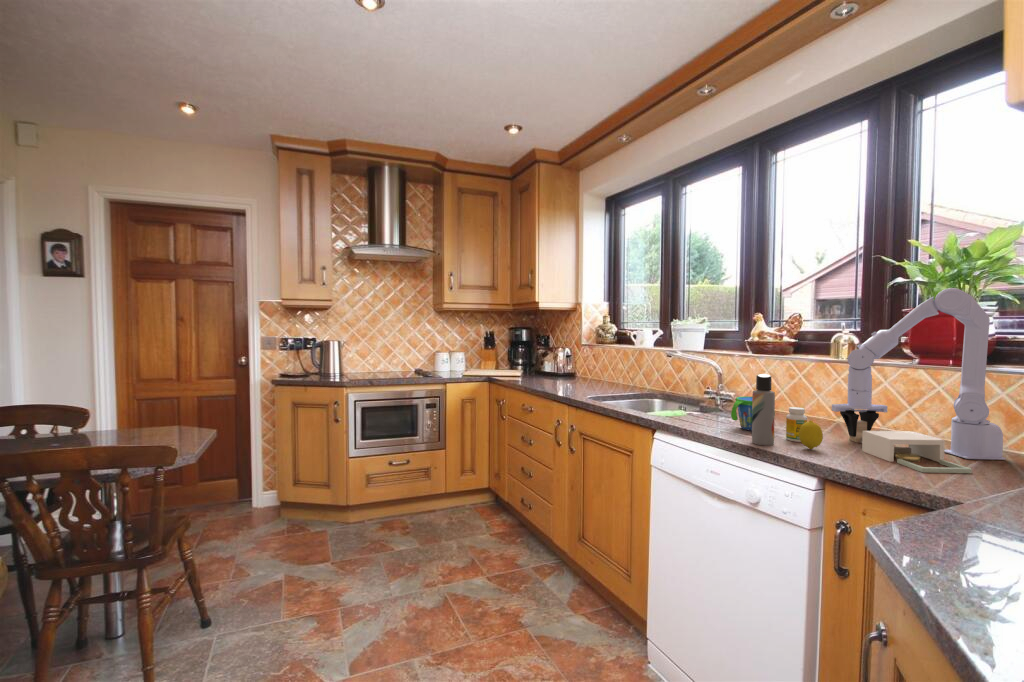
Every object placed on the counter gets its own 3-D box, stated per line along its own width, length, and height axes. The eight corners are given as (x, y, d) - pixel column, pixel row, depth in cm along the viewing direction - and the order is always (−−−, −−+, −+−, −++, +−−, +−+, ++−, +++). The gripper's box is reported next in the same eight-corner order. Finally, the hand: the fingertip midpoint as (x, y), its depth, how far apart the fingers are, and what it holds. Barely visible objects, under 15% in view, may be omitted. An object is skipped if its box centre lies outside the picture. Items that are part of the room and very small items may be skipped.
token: (909, 456, 123) (910, 452, 123) (925, 462, 118) (925, 457, 118) (890, 456, 123) (890, 452, 123) (905, 461, 118) (905, 457, 118)
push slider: (845, 439, 141) (845, 419, 141) (864, 440, 141) (864, 420, 141) (888, 455, 123) (889, 432, 123) (911, 455, 123) (911, 432, 123)
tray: (942, 463, 116) (942, 459, 116) (971, 473, 109) (971, 469, 109) (897, 462, 117) (897, 458, 117) (922, 472, 109) (922, 468, 109)
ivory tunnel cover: (912, 452, 127) (912, 431, 127) (944, 462, 117) (944, 440, 117) (862, 451, 128) (862, 430, 128) (889, 461, 118) (889, 439, 118)
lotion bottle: (773, 442, 138) (774, 374, 137) (774, 446, 133) (776, 375, 132) (751, 440, 140) (752, 373, 140) (752, 444, 135) (753, 374, 134)
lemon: (826, 452, 127) (826, 422, 126) (803, 451, 128) (804, 422, 127) (817, 447, 132) (817, 419, 132) (795, 446, 133) (796, 418, 133)
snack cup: (741, 433, 150) (742, 401, 149) (721, 426, 160) (722, 396, 160) (785, 431, 152) (786, 400, 152) (763, 425, 162) (763, 395, 162)
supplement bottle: (796, 437, 144) (797, 406, 144) (811, 441, 139) (812, 409, 138) (781, 438, 143) (782, 407, 142) (796, 442, 137) (796, 410, 137)
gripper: (875, 388, 142) (874, 433, 143) (825, 388, 143) (825, 432, 144) (893, 391, 135) (892, 438, 136) (840, 391, 136) (839, 438, 136)
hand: (858, 436), depth 139 cm, fingers closed on push slider, 3 cm apart
